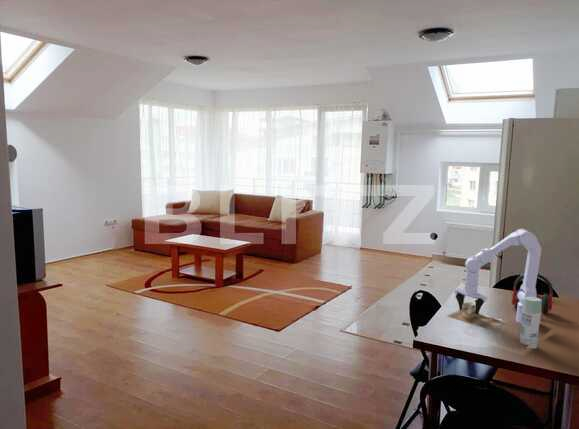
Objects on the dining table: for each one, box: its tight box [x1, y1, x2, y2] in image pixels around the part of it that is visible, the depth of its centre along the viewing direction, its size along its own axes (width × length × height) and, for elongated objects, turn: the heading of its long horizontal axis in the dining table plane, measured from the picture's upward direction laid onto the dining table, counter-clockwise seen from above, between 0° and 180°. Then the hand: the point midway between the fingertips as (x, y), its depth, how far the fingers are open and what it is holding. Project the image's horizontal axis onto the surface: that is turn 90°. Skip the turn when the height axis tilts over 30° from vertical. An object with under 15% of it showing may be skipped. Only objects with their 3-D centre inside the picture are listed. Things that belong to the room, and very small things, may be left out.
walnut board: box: [446, 309, 509, 331], centre depth 209 cm, size 22×16×3 cm
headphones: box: [511, 272, 554, 315], centre depth 224 cm, size 18×10×20 cm, turn 64°
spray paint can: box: [519, 296, 542, 350], centre depth 182 cm, size 6×6×20 cm
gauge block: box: [462, 301, 476, 319], centre depth 211 cm, size 4×9×6 cm, turn 133°
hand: (469, 311), depth 211 cm, fingers open, 7 cm apart
